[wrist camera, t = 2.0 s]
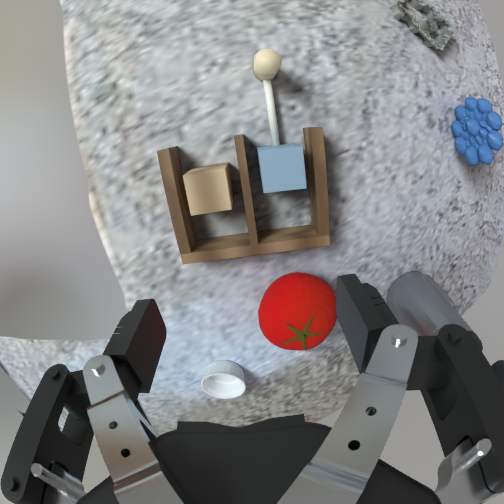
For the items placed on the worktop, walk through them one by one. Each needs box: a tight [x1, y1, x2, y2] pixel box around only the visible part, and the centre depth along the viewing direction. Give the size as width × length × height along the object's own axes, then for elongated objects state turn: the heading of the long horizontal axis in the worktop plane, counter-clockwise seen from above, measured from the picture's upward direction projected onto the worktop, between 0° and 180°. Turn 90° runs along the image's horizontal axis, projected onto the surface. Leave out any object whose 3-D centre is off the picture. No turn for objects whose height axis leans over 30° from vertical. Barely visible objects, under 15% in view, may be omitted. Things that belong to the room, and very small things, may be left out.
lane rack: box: [157, 127, 330, 264], centre depth 35 cm, size 20×16×4 cm
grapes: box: [451, 96, 503, 166], centre depth 27 cm, size 12×7×12 cm, turn 168°
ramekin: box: [201, 360, 246, 399], centre depth 51 cm, size 9×9×4 cm
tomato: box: [258, 272, 337, 351], centre depth 40 cm, size 11×12×10 cm
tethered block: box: [253, 49, 306, 193], centre depth 30 cm, size 5×17×6 cm, turn 8°
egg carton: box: [389, 0, 456, 51], centre depth 23 cm, size 11×8×4 cm
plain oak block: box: [183, 162, 234, 216], centre depth 34 cm, size 5×5×6 cm
